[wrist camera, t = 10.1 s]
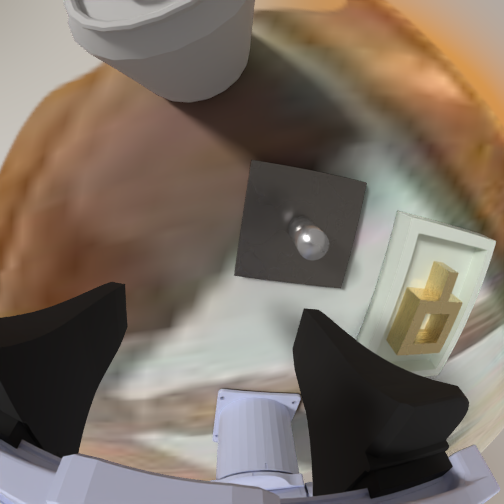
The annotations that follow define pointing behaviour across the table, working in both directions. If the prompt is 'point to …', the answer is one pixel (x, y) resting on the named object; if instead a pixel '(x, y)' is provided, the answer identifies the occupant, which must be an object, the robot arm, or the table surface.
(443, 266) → the square frame with tab
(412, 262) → the tray
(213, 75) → the can
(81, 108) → the table surface
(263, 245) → the square base with knob
